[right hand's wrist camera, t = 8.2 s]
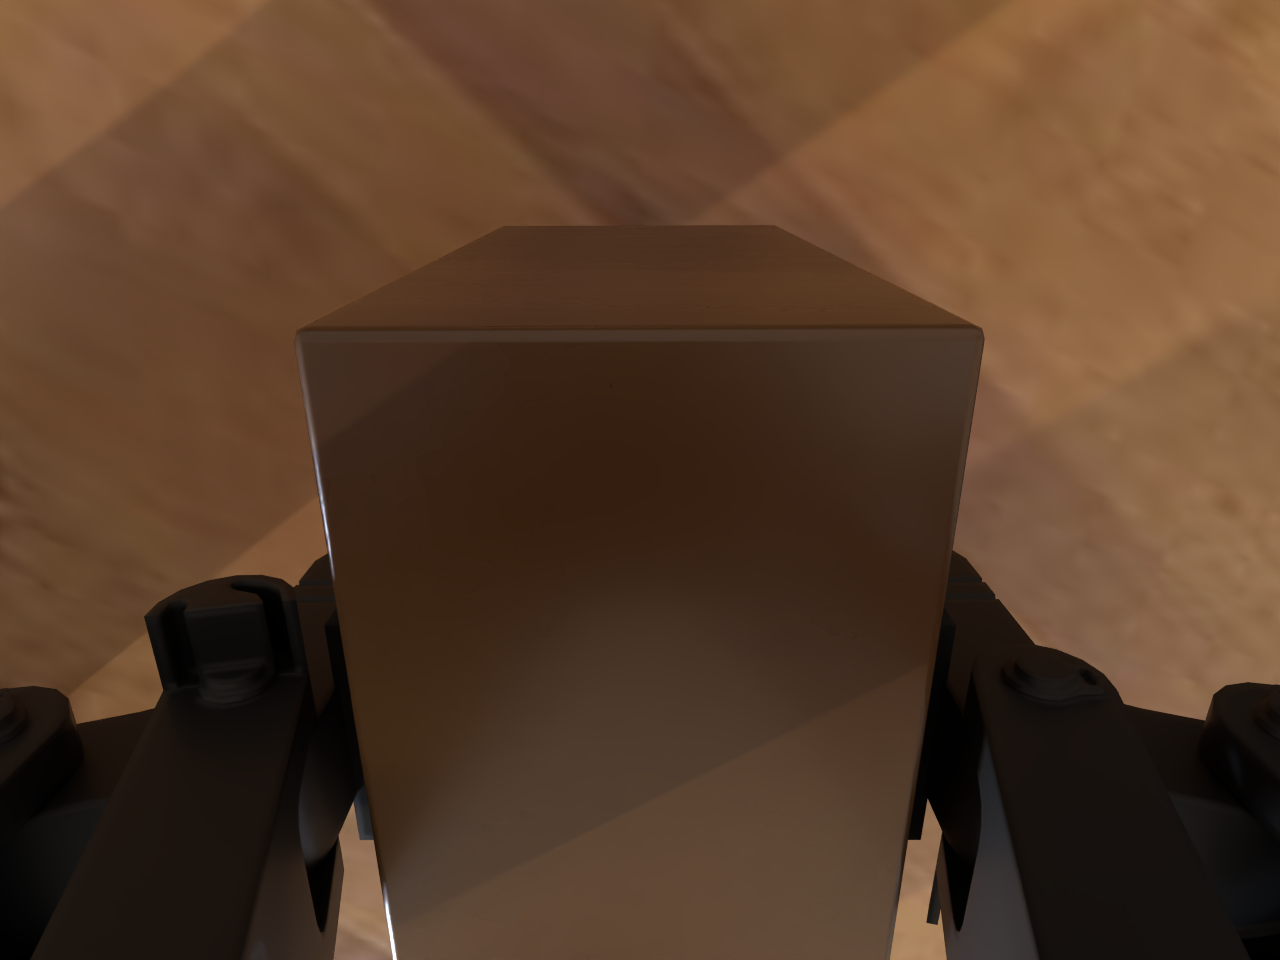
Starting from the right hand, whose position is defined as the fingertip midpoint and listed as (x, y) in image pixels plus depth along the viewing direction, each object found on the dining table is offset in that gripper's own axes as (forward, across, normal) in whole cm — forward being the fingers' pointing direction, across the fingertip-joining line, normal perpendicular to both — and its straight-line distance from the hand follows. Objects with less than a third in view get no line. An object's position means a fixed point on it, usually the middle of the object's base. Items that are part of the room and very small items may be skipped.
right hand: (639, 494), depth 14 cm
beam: (+1, 0, -22) cm, 23 cm away
